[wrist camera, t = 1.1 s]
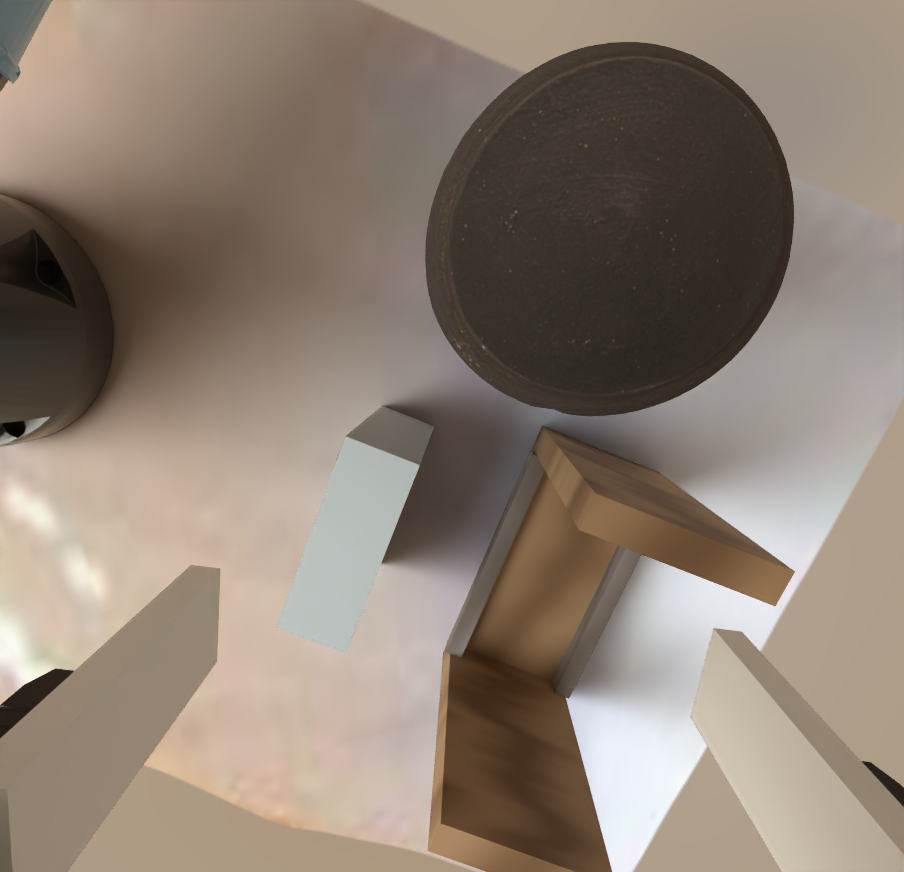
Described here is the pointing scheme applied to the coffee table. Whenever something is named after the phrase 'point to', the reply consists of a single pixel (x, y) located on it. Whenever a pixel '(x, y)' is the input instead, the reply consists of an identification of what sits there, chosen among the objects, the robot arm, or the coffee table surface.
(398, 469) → the door slab
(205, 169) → the coffee table surface
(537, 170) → the container
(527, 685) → the brown cabinet body
